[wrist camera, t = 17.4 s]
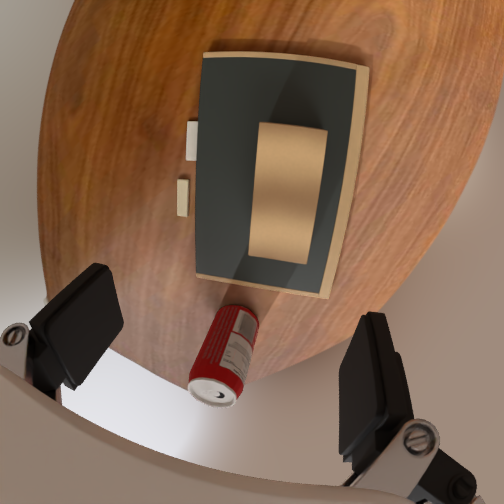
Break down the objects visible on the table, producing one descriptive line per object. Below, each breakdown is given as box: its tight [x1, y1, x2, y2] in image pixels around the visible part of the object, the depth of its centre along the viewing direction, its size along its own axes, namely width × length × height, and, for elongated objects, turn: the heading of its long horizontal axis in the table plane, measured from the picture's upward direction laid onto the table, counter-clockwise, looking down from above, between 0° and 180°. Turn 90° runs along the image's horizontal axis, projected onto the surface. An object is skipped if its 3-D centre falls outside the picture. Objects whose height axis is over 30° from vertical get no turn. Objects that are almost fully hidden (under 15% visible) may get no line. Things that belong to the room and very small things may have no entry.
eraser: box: [248, 122, 328, 264], centre depth 23 cm, size 11×5×4 cm, turn 177°
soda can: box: [188, 305, 259, 408], centre depth 29 cm, size 6×6×12 cm
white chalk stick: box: [186, 121, 198, 161], centre depth 25 cm, size 4×1×1 cm, turn 177°
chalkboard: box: [195, 51, 370, 299], centre depth 25 cm, size 24×15×1 cm, turn 177°
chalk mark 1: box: [177, 179, 189, 217], centre depth 28 cm, size 4×1×1 cm, turn 175°
